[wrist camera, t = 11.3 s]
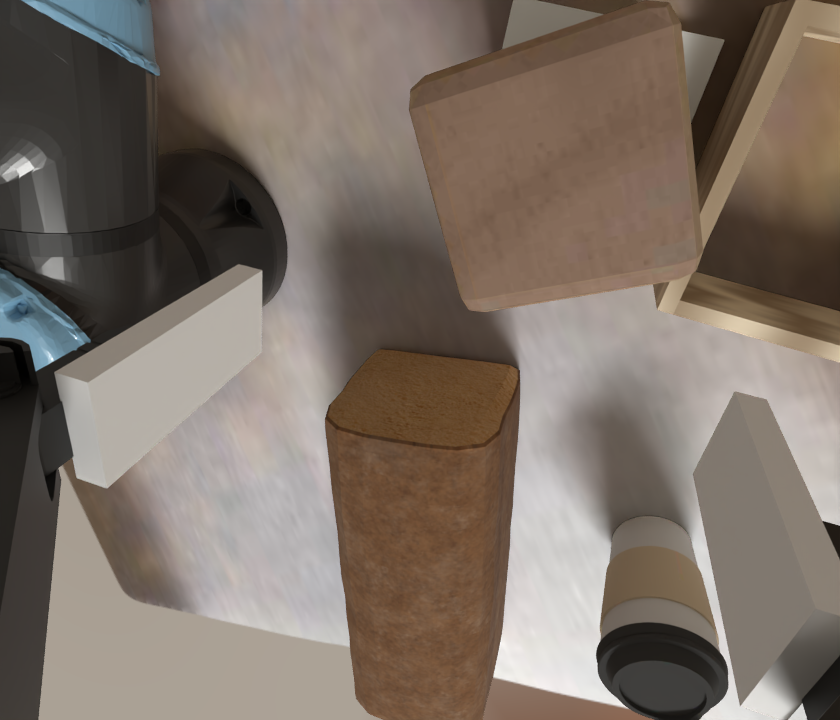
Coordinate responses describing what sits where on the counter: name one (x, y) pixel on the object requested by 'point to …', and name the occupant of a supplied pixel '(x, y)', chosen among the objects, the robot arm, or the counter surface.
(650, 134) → the wooden block
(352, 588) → the bread
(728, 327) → the birch frame
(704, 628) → the coffee cup
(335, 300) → the counter surface
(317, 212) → the counter surface
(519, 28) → the grey mat
